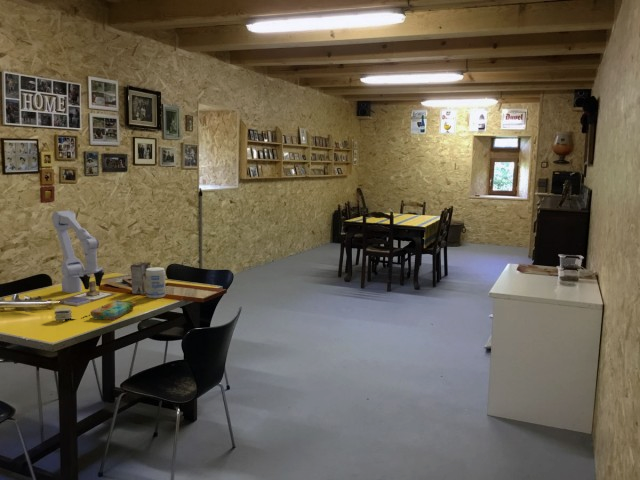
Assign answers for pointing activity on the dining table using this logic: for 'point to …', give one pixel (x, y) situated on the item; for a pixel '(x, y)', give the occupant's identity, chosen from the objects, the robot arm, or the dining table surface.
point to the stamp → (92, 289)
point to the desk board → (84, 298)
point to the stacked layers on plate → (62, 313)
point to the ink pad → (77, 301)
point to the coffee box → (139, 277)
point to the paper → (92, 296)
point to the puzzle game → (113, 310)
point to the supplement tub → (155, 282)
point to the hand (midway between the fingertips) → (92, 287)
